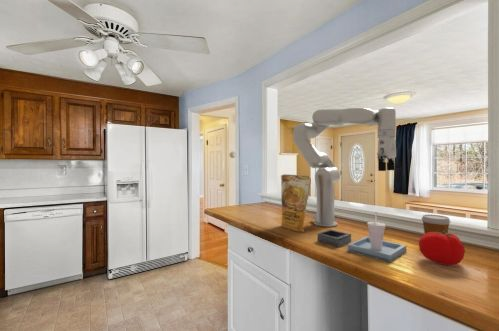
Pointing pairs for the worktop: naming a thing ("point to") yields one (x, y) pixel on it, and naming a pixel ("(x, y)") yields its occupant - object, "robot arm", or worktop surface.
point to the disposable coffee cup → (435, 223)
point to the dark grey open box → (334, 238)
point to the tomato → (442, 248)
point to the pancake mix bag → (294, 201)
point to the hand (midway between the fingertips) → (386, 170)
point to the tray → (386, 254)
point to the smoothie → (376, 233)
